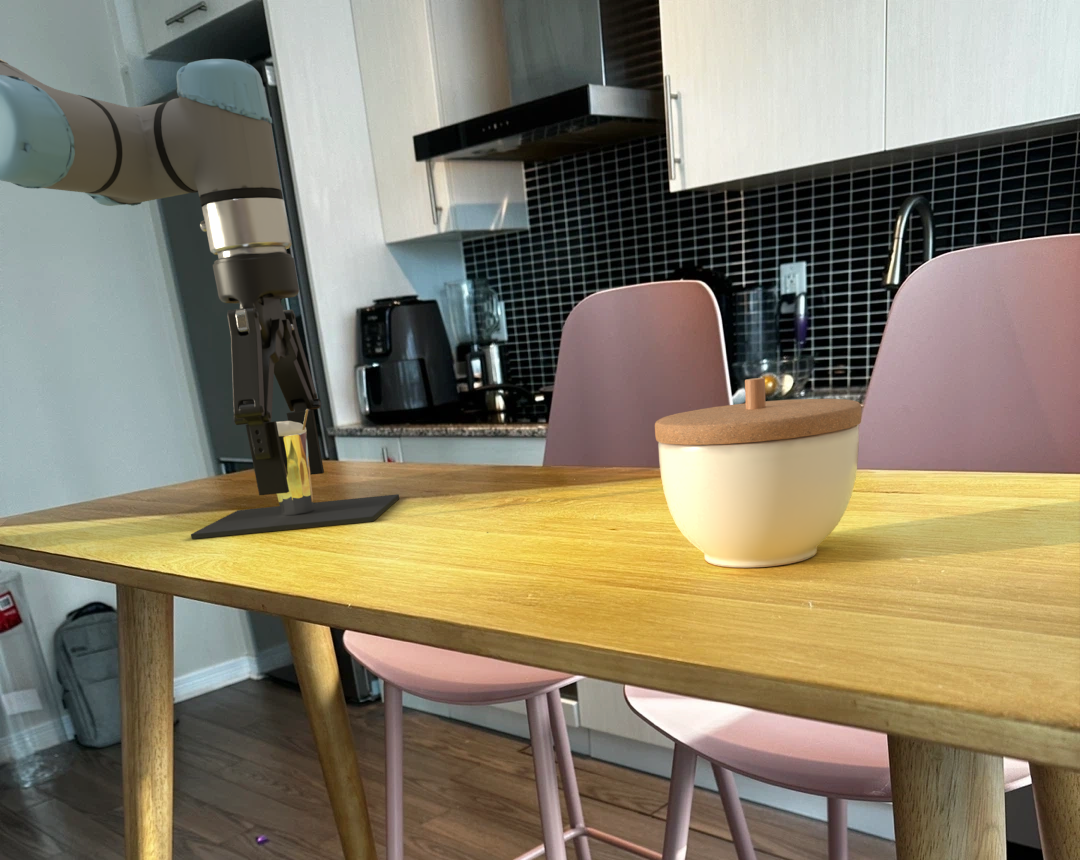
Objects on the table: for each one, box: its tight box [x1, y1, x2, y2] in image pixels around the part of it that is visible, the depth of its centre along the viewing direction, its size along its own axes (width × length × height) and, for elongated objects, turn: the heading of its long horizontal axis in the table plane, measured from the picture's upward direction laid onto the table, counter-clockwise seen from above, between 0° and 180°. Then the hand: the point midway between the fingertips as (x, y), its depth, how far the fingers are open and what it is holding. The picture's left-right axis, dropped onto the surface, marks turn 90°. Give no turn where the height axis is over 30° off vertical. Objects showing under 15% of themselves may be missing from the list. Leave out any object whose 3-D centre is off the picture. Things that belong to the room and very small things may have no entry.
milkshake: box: [276, 409, 315, 516], centre depth 103 cm, size 4×5×10 cm
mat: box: [190, 493, 400, 540], centre depth 105 cm, size 18×14×1 cm
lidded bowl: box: [654, 377, 863, 569], centre depth 65 cm, size 13×13×11 cm
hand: (293, 483), depth 104 cm, fingers open, 13 cm apart
